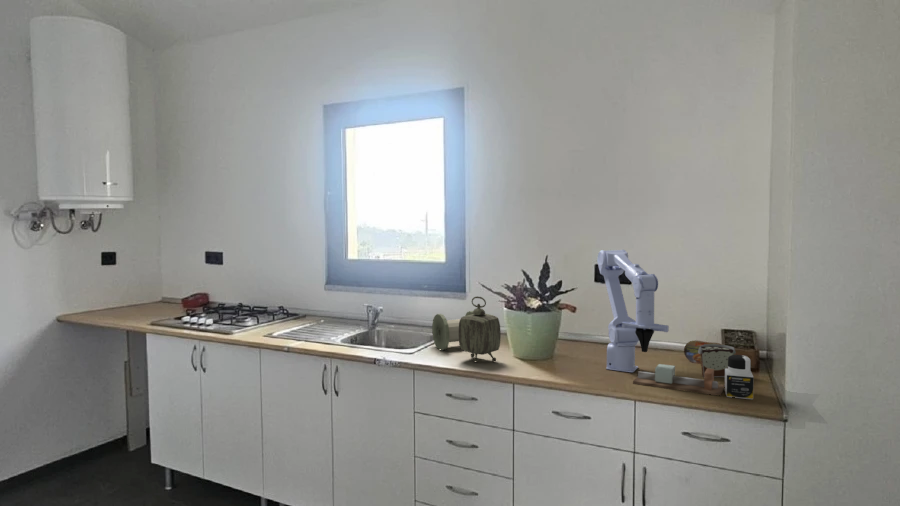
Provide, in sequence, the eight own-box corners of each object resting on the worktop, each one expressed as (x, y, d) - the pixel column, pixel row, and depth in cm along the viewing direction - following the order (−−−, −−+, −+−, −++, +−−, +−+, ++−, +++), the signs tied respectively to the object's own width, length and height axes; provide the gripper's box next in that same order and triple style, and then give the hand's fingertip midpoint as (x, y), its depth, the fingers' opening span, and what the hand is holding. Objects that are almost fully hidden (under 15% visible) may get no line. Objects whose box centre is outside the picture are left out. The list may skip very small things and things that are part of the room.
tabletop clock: (500, 361, 209) (500, 297, 207) (486, 366, 202) (485, 299, 201) (471, 356, 219) (471, 293, 217) (456, 360, 212) (456, 296, 210)
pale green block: (655, 381, 178) (655, 368, 177) (658, 376, 183) (659, 363, 182) (671, 383, 175) (671, 370, 175) (674, 379, 180) (675, 365, 180)
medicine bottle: (726, 397, 165) (727, 358, 164) (724, 390, 171) (725, 352, 170) (753, 399, 162) (754, 360, 161) (750, 392, 168) (751, 354, 168)
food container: (725, 371, 192) (726, 343, 191) (735, 376, 186) (735, 347, 185) (691, 372, 191) (691, 344, 191) (699, 377, 185) (700, 348, 185)
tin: (683, 361, 206) (683, 339, 206) (686, 359, 209) (686, 337, 208) (726, 368, 196) (726, 345, 196) (729, 366, 198) (729, 343, 198)
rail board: (633, 383, 179) (633, 365, 179) (640, 375, 188) (640, 358, 188) (720, 396, 166) (721, 376, 165) (724, 387, 174) (724, 368, 174)
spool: (466, 342, 243) (466, 308, 242) (482, 349, 230) (481, 314, 229) (432, 346, 237) (431, 311, 236) (446, 353, 223) (445, 317, 222)
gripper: (619, 310, 181) (619, 351, 182) (665, 314, 174) (665, 356, 174) (625, 307, 187) (624, 347, 188) (670, 311, 180) (669, 351, 180)
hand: (644, 351), depth 182 cm, fingers closed
